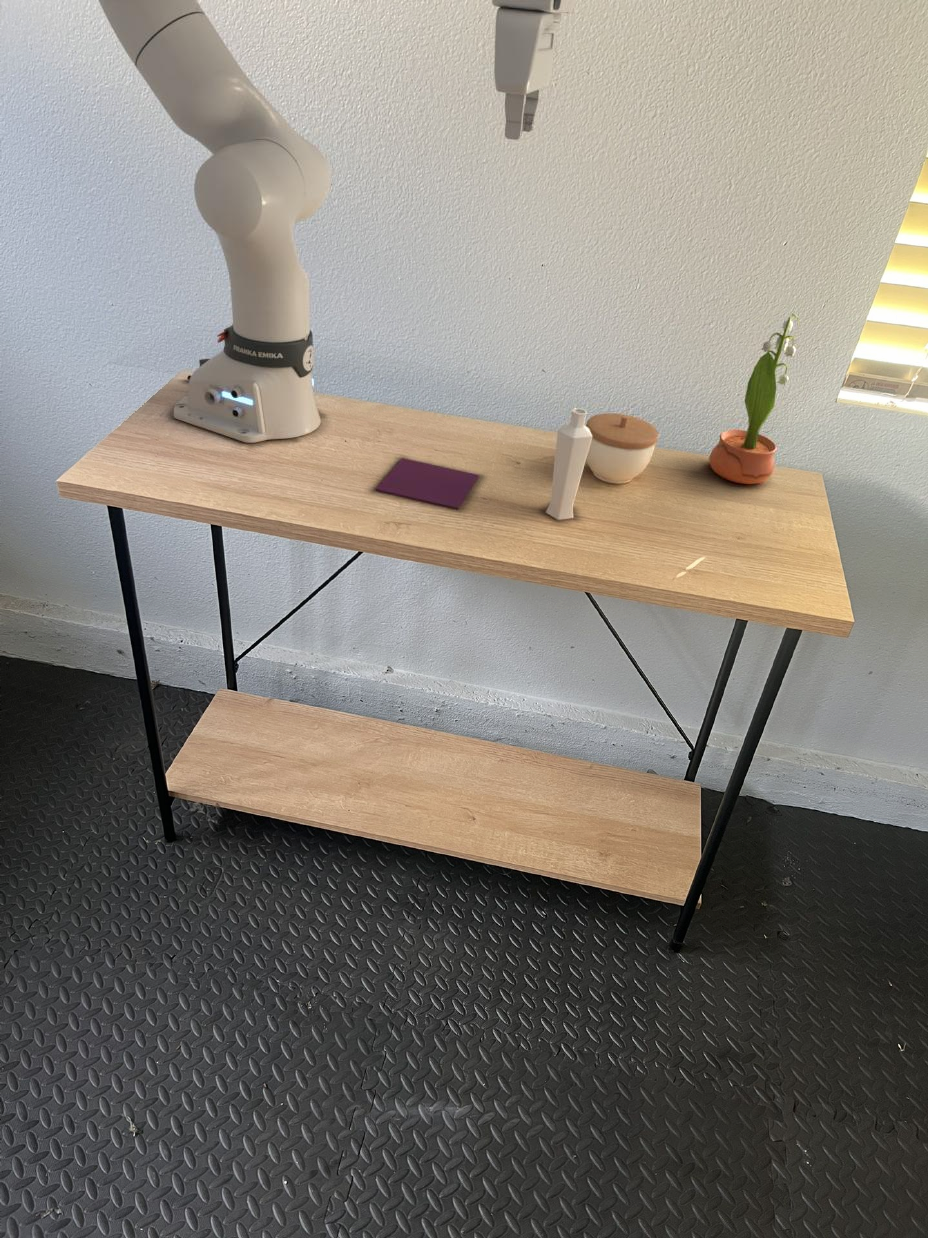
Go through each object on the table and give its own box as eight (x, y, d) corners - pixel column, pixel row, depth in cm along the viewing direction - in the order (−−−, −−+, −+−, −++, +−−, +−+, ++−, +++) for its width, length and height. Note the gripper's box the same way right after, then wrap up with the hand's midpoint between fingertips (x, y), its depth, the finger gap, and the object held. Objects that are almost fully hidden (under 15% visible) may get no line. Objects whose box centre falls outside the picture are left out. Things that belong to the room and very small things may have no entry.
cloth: (375, 490, 118) (375, 488, 118) (402, 459, 127) (402, 457, 127) (457, 509, 116) (458, 507, 116) (478, 476, 125) (479, 474, 125)
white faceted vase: (568, 524, 116) (588, 421, 107) (539, 514, 118) (557, 411, 109) (582, 512, 119) (603, 411, 111) (554, 502, 121) (573, 401, 112)
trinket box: (646, 496, 125) (661, 437, 120) (574, 483, 127) (586, 424, 121) (647, 466, 134) (661, 409, 129) (580, 454, 135) (591, 397, 130)
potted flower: (713, 450, 142) (758, 297, 127) (773, 466, 139) (827, 311, 125) (701, 478, 133) (749, 315, 118) (766, 495, 130) (823, 331, 115)
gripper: (521, -9, 102) (508, 123, 110) (489, -18, 85) (476, 139, 93) (573, -4, 101) (556, 129, 109) (551, -11, 84) (533, 146, 92)
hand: (519, 134), depth 101 cm, fingers open, 8 cm apart
